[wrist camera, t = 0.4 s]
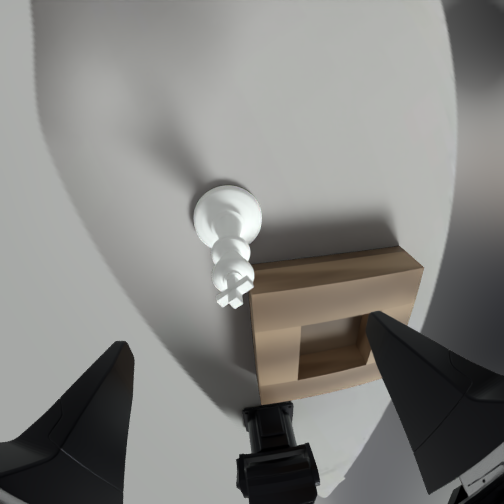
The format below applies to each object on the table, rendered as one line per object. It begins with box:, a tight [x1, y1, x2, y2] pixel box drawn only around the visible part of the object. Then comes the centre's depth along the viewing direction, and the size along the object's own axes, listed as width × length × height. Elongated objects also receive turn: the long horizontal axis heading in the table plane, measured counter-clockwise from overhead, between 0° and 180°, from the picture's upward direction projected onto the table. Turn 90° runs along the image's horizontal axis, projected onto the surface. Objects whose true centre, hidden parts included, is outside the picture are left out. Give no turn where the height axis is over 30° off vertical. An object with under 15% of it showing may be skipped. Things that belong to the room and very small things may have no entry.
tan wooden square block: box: [248, 246, 424, 405], centre depth 24 cm, size 14×14×4 cm
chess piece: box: [193, 185, 262, 309], centre depth 16 cm, size 5×5×10 cm
